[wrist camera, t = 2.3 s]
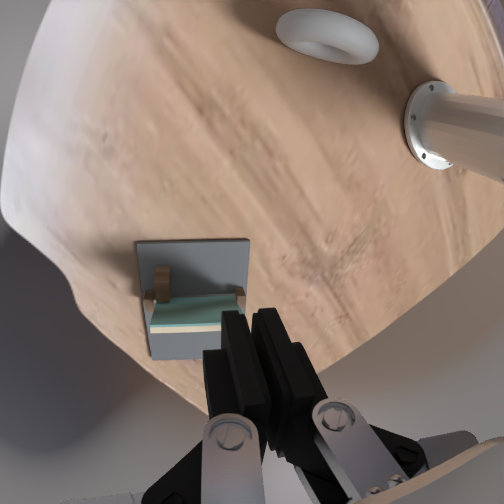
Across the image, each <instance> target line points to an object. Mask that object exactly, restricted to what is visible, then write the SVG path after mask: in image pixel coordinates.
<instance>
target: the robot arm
mask: <svg viewBox="0 0 504 504" xmlns="http://www.w3.org/2000/svg"><path fill="white" fill-rule="evenodd" d="M404 127H405V135H406V139H407V142H408V145H409V147H410V150H411V152H412V153H413V155H414V156H415V158H416V159H417V160H418V161H419V162H420V163H421V164H423V165H424V166H426V167H429V168H431V169H436V170H443V169H446V168H449V167H451V166H452V165H456V166H459V167H462V168H465V169H467V170H470V171H473V172H475V173H478V174H480V175H483V176H485V177H488V178H490V179H493V180H495V181H498V182H500V183H502V184H504V100H501V99H495V98H488V97H481V96H474V95H465V94H458V93H457V91H456V90H455V89H454V88H453V87H451V86H450V85H448V84H447V83H444V82H441V81H428V82H425V83H423V84H421V85H420V86H418V87H417V88H416V89H415V90H414V92H413V93H412V94H411V96H410V98H409V100H408V103H407V106H406V111H405V117H404ZM203 372H204V382H205V391H206V398H207V405H208V412H209V419H210V420H209V421H208V423H207V424H206V425H205V427H204V431H203V440H202V441H201V442H200V443H198V444H197V445H196V446H195V447H194V448H193V449H192V450H191V451H190V452H189V453H188V454H187V455H186V456H185V457H184V458H182V459H181V460H180V461H179V462H178V463H177V464H176V465H175V466H174V467H173V468H172V469H170V470H169V471H168V472H167V473H166V474H165V475H164V476H162V477H161V478H160V479H159V480H158V481H157V482H156V483H154V484H153V485H152V486H151V487H150V488H149V489H148V490H147V491H146V492H142V493H137V494H131V493H130V492H129V493H124V494H117V495H110V496H102V497H93V498H83V499H70V500H67V501H64V502H62V503H61V504H265V496H264V486H263V477H262V467H261V466H262V462H263V458H264V453H265V449H266V445H267V441H268V445H269V448H270V450H271V451H273V450H276V453H277V456H278V458H280V457H285V458H286V461H287V462H289V463H291V464H293V465H294V469H295V471H296V473H297V475H298V477H299V479H300V481H301V483H302V485H303V486H304V488H305V490H306V492H307V494H308V496H309V497H310V499H311V501H312V503H313V504H504V436H500V437H496V438H491V439H488V440H485V441H484V442H481V443H478V441H477V439H476V437H475V436H474V435H473V434H472V433H471V432H468V431H465V430H464V431H456V432H452V433H447V434H442V435H437V436H432V437H426V438H420V440H419V441H414V440H412V439H409V438H406V437H403V436H401V435H398V434H394V433H392V432H389V431H386V430H384V429H380V428H378V427H375V426H373V425H370V424H368V423H367V421H366V420H365V419H364V417H363V416H362V415H361V413H360V412H359V411H358V409H357V408H356V407H355V406H354V405H353V404H352V403H350V402H348V401H347V400H344V399H340V398H328V396H327V395H326V392H325V390H324V388H323V386H322V384H321V382H320V380H319V378H318V376H317V374H316V372H315V370H314V368H313V366H312V364H311V362H310V359H309V357H308V355H307V353H306V351H305V349H304V347H303V345H302V344H301V343H300V342H294V343H291V341H290V338H289V336H288V334H287V332H286V330H285V327H284V325H283V323H282V321H281V319H280V316H279V314H278V312H277V310H276V308H261V309H259V310H258V313H253V317H252V328H251V333H250V329H249V326H248V323H247V320H246V317H245V314H239V311H238V310H228V311H222V313H221V349H214V350H203Z"/></svg>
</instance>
